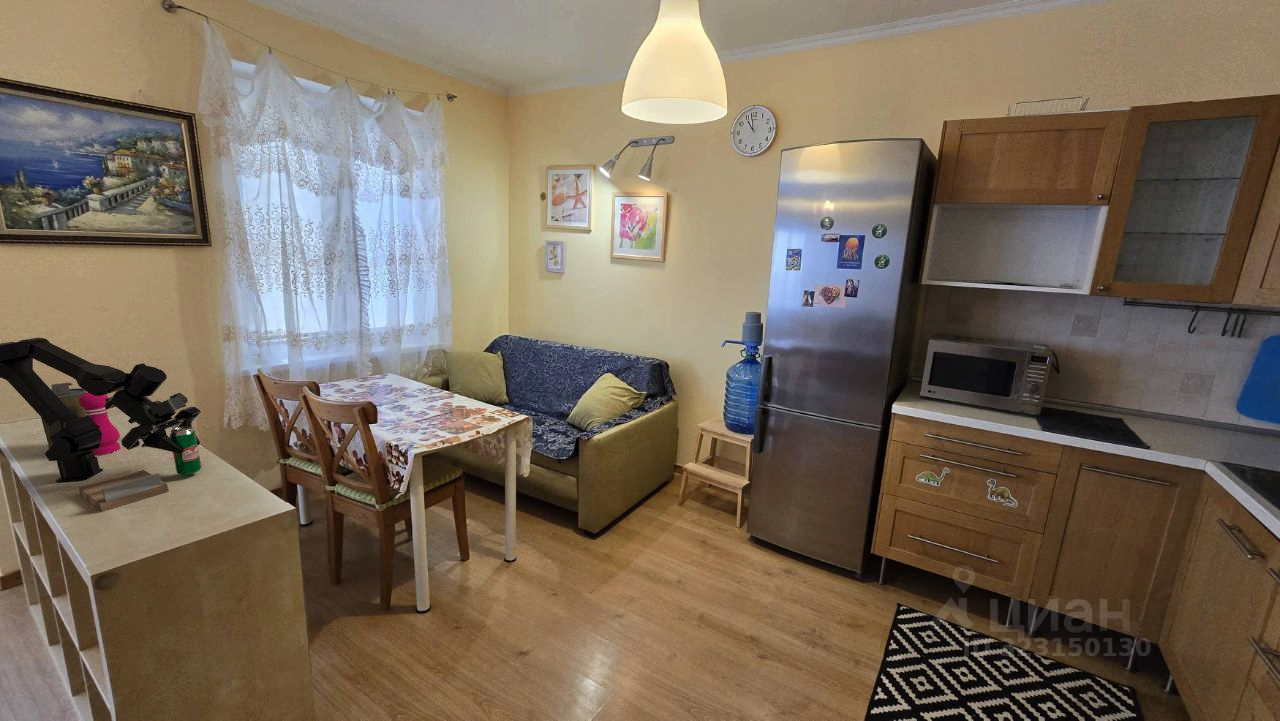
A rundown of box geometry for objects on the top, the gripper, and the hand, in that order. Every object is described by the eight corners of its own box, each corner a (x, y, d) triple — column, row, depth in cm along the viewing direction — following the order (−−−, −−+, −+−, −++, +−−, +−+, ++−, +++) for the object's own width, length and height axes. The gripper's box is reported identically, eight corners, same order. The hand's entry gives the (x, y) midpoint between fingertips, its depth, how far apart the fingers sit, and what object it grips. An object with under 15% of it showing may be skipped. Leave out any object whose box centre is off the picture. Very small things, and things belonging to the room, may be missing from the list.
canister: (97, 439, 164) (82, 378, 160) (101, 447, 158) (86, 383, 153) (45, 449, 156) (29, 385, 151) (48, 458, 149) (30, 391, 145)
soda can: (187, 476, 136) (179, 433, 133) (171, 474, 137) (163, 431, 134) (206, 468, 140) (199, 426, 138) (191, 466, 141) (183, 425, 139)
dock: (80, 494, 128) (76, 475, 127) (144, 476, 138) (140, 459, 137) (102, 511, 120) (97, 491, 119) (168, 491, 130) (164, 472, 129)
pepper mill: (83, 454, 153) (67, 388, 148) (114, 445, 159) (100, 382, 155) (96, 457, 150) (80, 391, 146) (128, 449, 156) (113, 384, 152)
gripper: (123, 397, 124) (179, 441, 127) (187, 377, 142) (235, 416, 145) (96, 428, 126) (152, 471, 128) (163, 405, 144) (210, 442, 147)
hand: (190, 448), depth 137 cm, fingers closed on soda can, 5 cm apart
